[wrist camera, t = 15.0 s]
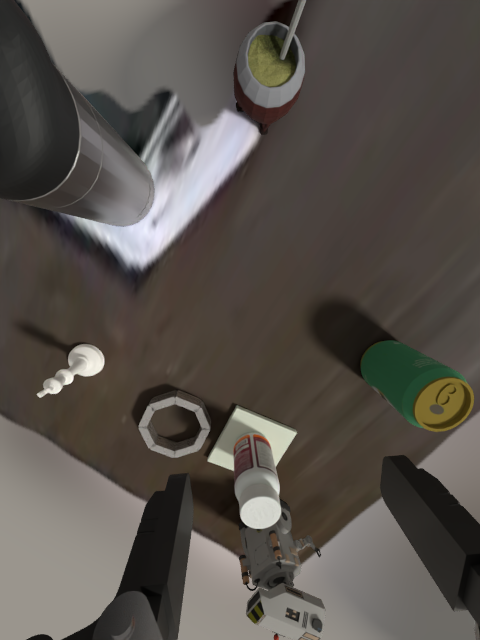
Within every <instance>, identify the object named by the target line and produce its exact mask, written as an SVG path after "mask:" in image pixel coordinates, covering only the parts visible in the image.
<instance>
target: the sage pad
mask: <svg viewBox="0 0 480 640" xmlns="http://www.w3.org/2000/svg"><path fill="white" fill-rule="evenodd" d="M246 433H259V434H261V435H263V436H265V437H266V438H267V439H268V441H269V443H270V446H271V450H272V454H273V459H274V463H275V467H276V465H277V464H278V462H279V461H280V459H281V457H282V456H283V454H284V453H285V451H286V449H287V448H288V446H289V445H290V443H291V441H292V440H293V438H294V437H295V435H296V434H297V432H296V429H293V428H291V427H288V426H286V425H284V424H281V423H279V422H276V421H274V420H271V419H269V418H267V417H264V416H262V415H259V414H257V413H255V412H252V411H250V410H247V409H245V408H243V407H240V406H238V405H236V407H235V409H234V411H233V413H232V414H231V416H230V418H229V420H228V422H227V423H226V425H225V427H224V429H223V431H222V433H221V434H220V436H219V438H218V440H217V442H216V443H215V445H214V447H213V449H212V451H211V452H210V454H209V456H208V460H207V461H209V462H211V463H214V464H217V465H219V466H222V467H225V468H228V469H230V470H233V471H234V455H233V449H234V445H235V442H236V441H237V440H238V438H239V437H241V436H242V435H244V434H246Z"/></svg>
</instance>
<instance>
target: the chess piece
mask: <svg viewBox="0 0 480 640" xmlns="http://www.w3.org/2000/svg"><path fill="white" fill-rule="evenodd" d="M68 363H69V365H70V367H69V368H68V369H67V370H66V369H61V370H59V371H58V372H57V373H56V375H55V377H54V378H49V379H47V380H46V381H45V382H44V384H43V387H44V390H43V391H41V392H39V393H38V394H37V395H38V396H39V397H40V398H41V397H43V396H44V395H45V394H47V393H50V394H56V393H59V392H60V391H61V389H62V387H63V385H68V384H70V383H71V382H72V381H73V376H74V375H75V374H79V375H82V376H92V375H95V374H96V373H98V372H100V371H101V370H102V368H103V366H104V356H103V354H102V352H101V351H100V350H99V349H98V348H96V347H95V346H93V345H89V344H81V345H78V346H76V347H75V348H74V349H73V350H72V351H71V352H70V353H69V356H68Z"/></svg>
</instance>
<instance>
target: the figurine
mask: <svg viewBox="0 0 480 640" xmlns="http://www.w3.org/2000/svg"><path fill="white" fill-rule="evenodd" d="M279 500H280V499H279ZM280 506H281V515H280V518H279V519H278V521H277V522H276V523H275V524H273V525H272V526H270V527H267V528H263V529H255V528H251V527H249V526H247V525H246V524H244V522H243V521H242V522H241V523H239V530H240V531H241V540H242V545H243V549H244V552H245V554H246V556H247V558H246V556H245V555H241V556H240V557H239V560H240V565H241V572H242V579H243V584H244V585H247V584H248V583H249V577H250V578H252V583H253V585H255V586H256V587H255V588H254V589H250V588H249V587H248V585H247V588H248V589H249V590H251V591H253V590H255V589H256V588H257V586H258V587H261V588H259V589H258V590H257V591H256V592H255V593H254V594H253V595H252V597H251V598H250V599H249V600H248V603H247V610H246V615H247V616H248V617H249V618H250V619H251V620H252V622H253V623H255V624H256V625H258V626H261V627H263V628H265V629H268V630H270V631H272V632H274V633H276V634H275V635H274V640H278V639H279V637H278V634H279V635H281V636H284V637H288V638H290V639H292V640H320V639H321V638H322V634H323V626H324V618H325V611H326V610H325V607H324V605H323V603H322V600H321V599H319V598H316V597H314V596H312V595H309V594H307V593H305V592H303V591H300V590H298V589H296V588H293V586H294V584H293V582H292V581H293V579H294V578H295V577H296V576H297V575H299V574H300V571H301V563H300V560H299V557H298V554H297V552H298V551H299V550H300V549H303V548H305V546H311V547H312V548H313V549H314V550H315V551H316V552H317V554H318V556H319V557H320V556H321V554H320V555H319V553H318V551H319V552H320V549H317V548H316V547H315V546H314V544H313V543H312V538H311V537H310V536H306V538H305V539H303V540H302V539H299V540H295V541H293V538H292V535H291V532H290V530H291V517H290V507H289V506H288V505H287V503H285V502H284V501H281V500H280ZM248 570H249V574H250V575H248ZM262 588H264V589H268V591H267V590H264V589H262Z"/></svg>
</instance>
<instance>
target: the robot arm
mask: <svg viewBox="0 0 480 640" xmlns="http://www.w3.org/2000/svg"><path fill="white" fill-rule="evenodd" d="M0 198H2V199H6V200H10V201H14V202H19V203H23V204H27V205H31V206H36V207H40V208H44V209H48V210H52V211H56V212H60V213H65V214H69V215H73V216H77V217H81V218H85V219H89V220H93V221H97V222H101V223H105V224H109V225H114V226H123V227H124V226H130V225H133V224H135V223H138V222H139V221H140V220H142V219H143V218H144V217H145V216H146V215H147V214H148V212H149V210H150V208H151V207H152V204H153V200H154V183H153V179H152V176H151V173H150V171H149V170H148V168H147V166H146V165H145V164H144V162H143V161H142V160H141V159H140V158H139V157H138V155H137V154H136V153H135V152H134V151H133V150H132V149H131V148H130V147H129V145H128V144H127V143H126V142H125V141H124V140H123V139H122V138H121V137H120V136H119V135H118V133H117V132H116V131H115V130H114V129H113V128H112V127H111V126H110V125H109V124H108V123H107V122H106V120H105V119H104V118H103V117H102V116H101V115H100V114H99V113H98V112H97V111H96V110H95V108H94V107H93V106H92V105H91V104H90V103H89V102H88V101H87V100H86V99H85V98H84V96H83V95H82V94H81V93H80V92H79V91H78V90H77V89H76V88H75V87H74V86H73V85H72V84H71V83H70V82H69V80H68V79H67V78H66V77H65V76H64V75H63V74H62V73H61V72H60V71H59V70H58V68H57V67H56V66H55V65H54V64H53V63H52V62H51V60H50V57H49V55H48V52H47V50H46V48H45V46H44V43H43V42H42V40H41V38H40V36H39V34H38V33H37V31H36V29H35V28H34V26H33V25H32V23H31V22H30V20H29V19H28V17H27V16H26V15H25V14H24V12H23V11H22V10H21V9H20V7H19V6H18V5H17V4H16V2H15V1H14V0H0ZM380 488H381V493H382V497H383V499H384V501H385V503H386V505H387V507H388V508H389V510H390V511H391V513H392V515H393V516H394V518H395V519H396V521H397V522H398V524H399V526H400V527H401V529H402V530H403V532H404V534H405V535H406V537H407V538H408V540H409V542H410V543H411V545H412V546H413V548H414V549H415V551H416V553H417V554H418V556H419V557H420V559H421V561H422V562H423V564H424V565H425V567H426V568H427V570H428V571H429V573H430V575H431V576H432V578H433V579H434V581H435V583H436V584H437V586H438V587H439V589H440V591H441V592H442V594H443V595H444V597H445V598H446V600H447V602H448V603H449V605H450V606H451V608H452V609H453V611H454V612H455V611H463V610H468V611H469V612H470V614H471V615H472V617H473V618H474V620H475V624H474V630H475V638H476V640H480V524H479V523H478V522H477V521H476V520H475V519H474V518H473V517H472V516H471V514H470V513H469V512H468V511H467V510H466V509H465V508H464V507H463V506H461V505H460V503H459V502H458V501H457V499H455V497H454V496H453V495H451V494H450V492H449V491H448V490H447V489H446V488H445V487H444V486H443V485H442V483H441V482H440V481H439V480H438V479H437V478H435V477H434V476H432V475H431V474H429V473H428V472H426V471H425V470H424V469H417V468H416V467H415V465H414V464H413V463H412V462H411V461H410V460H409V459H408V458H407V457H406V456H404V455H399V456H387V457H384V458H383V464H382V474H381V484H380ZM192 523H193V499H192V491H191V484H190V476H189V473H185V474H174V475H170V476H169V478H168V482H167V486H166V489H165V491H156V492H155V493H154V494H153V496H152V497H151V498H150V500H149V501H148V503H147V504H146V507H145V509H144V512H143V515H142V519H141V523H140V525H139V528H138V531H137V536H136V537H135V540H134V543H133V546H132V550H131V553H130V556H129V559H128V562H127V565H126V568H125V571H124V575H123V577H122V581H121V584H120V587H119V589H118V592H117V594H116V596H115V598H114V600H113V601H112V602H111V603H110V604H109V605H108V606H107V607H106V609H105V610H104V611H103V613H102V615H101V616H100V617H99V618H98V619H97V620H96V621H94V622H93V623H92V624H90V625H89V626H87V627H86V628H84V629H82V630H80V631H78V632H76V633H74V634H72V635H70V636H68V637H66V638H64V639H62V640H177V639H178V632H179V624H180V615H181V608H182V601H183V593H184V585H185V577H186V570H187V562H188V554H189V546H190V539H191V531H192ZM27 640H53V639H52V638H51V637H50V636H48V635H44V634H40V635H36V636H33V637H31V638H29V639H27Z"/></svg>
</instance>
